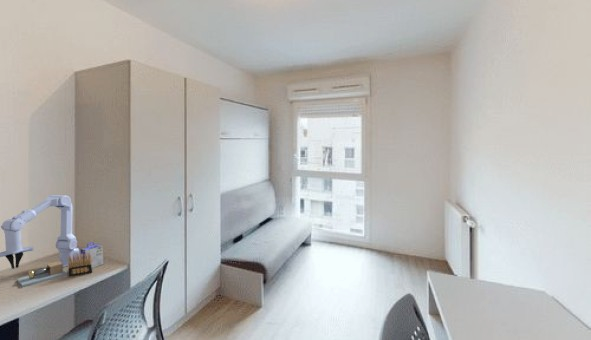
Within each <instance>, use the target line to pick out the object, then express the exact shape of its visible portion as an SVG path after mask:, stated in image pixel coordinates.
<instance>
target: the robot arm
mask: <svg viewBox="0 0 591 340" xmlns="http://www.w3.org/2000/svg"><path fill="white" fill-rule="evenodd" d="M50 207H56V208H57V209H59V210H60V235H59V236H58V237H57V238H56V243H55V248H56V249H57V250H58V252H59V253H58V254H59V261H60V262H61V263H62V264H63V268H65V267H68V263H69V256H71V260H72V262H73V255H75V260H76V261H77V254H78V255H79V260H80V257H81V251H80V248H79V247H77V246H78V240H77V236H75V235H74V234H73V211H74V209H73V208H74V207H73V203H72V198H71V197H70V196H68V195H66V194H65V195H61V194H60V195H57V194H51V195H49V196H47V197H46V198H45V199H44V200H43V201H41V202H40V203H39V204H36V205H35V206H34V207H33V208H31V209H23V210H22V211H21V212H20V213H19V214H17V215H14V216H12V218H10V219H9V218H8V219H6V220H5V221H3V223H2V225H1V226H0V227H1V229H2V230H3V232H4V238H5V239H4V240H5V242H4V243H5V250H4V251H1V252H0V258H3V257H5V258H6V259H7V261H8V262H9V264H10V267H11V269H13V270H14V269H15V268H16V269H18V268H19V267H20V266H19V265H20V263H21V260H22V258H23V257H24V253H26V252H32V251H35V249H34V246H33V245H32V246H27V247H23V246H22V229H24V226H25V225H26V224H27V223H29V222H31V221H32V220H33V219H35V218H36V216H37V214H38V213H39V214H40V213H41V212H42V211H45V210H46V209H48V208H50ZM14 256H15V257H14ZM14 258H15V259H14ZM14 260H15V261H14Z"/></svg>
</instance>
